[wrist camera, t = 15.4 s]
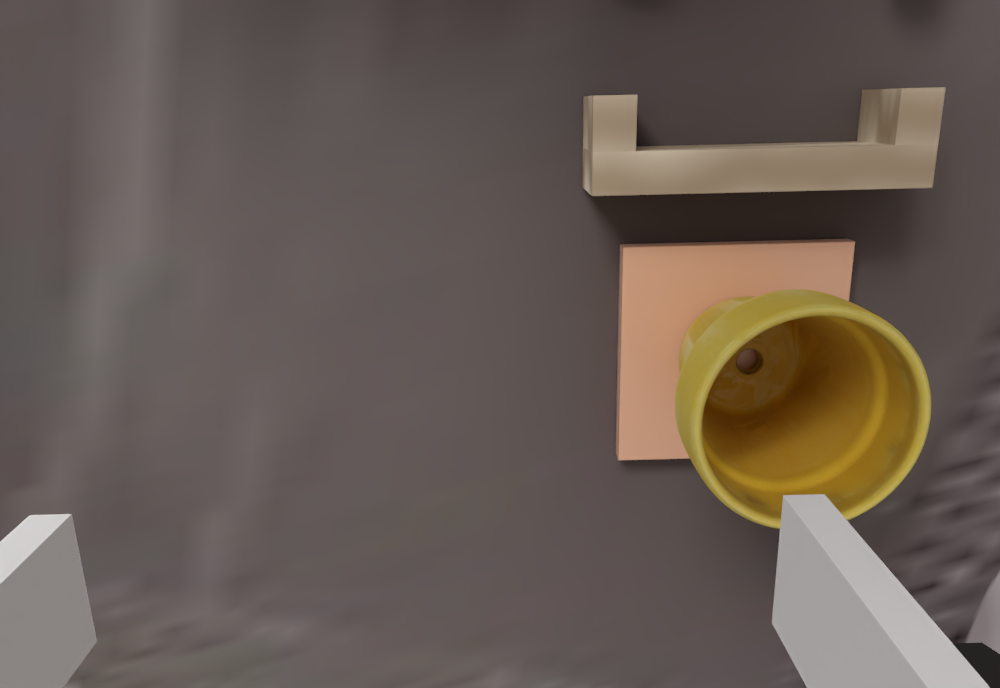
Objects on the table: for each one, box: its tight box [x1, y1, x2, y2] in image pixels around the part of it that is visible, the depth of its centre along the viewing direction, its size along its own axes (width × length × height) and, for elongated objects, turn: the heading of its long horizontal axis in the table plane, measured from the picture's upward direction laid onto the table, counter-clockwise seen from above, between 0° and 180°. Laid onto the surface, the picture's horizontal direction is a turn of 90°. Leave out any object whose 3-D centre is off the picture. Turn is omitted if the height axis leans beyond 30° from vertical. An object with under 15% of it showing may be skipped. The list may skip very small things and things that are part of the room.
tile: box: [616, 239, 855, 460], centre depth 43 cm, size 12×12×1 cm
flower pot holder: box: [583, 87, 946, 196], centre depth 37 cm, size 16×16×4 cm
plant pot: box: [675, 289, 931, 529], centre depth 38 cm, size 10×10×10 cm
